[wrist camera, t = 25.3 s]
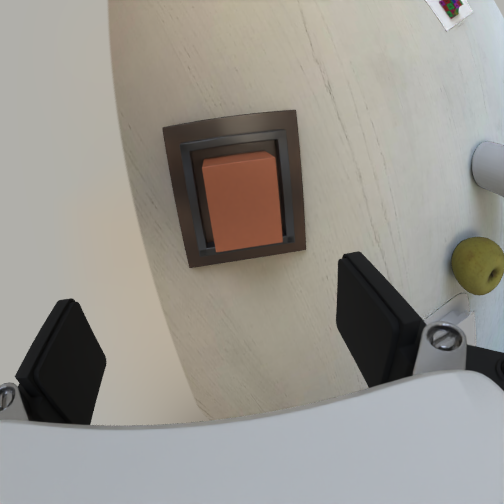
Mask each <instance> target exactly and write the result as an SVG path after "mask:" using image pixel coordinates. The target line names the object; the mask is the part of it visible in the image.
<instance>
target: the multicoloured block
mask: <svg viewBox="0 0 504 504" xmlns="http://www.w3.org/2000/svg"><path fill="white" fill-rule="evenodd" d="M425 1H426V2H427V3H428V5H429V6H430V7H431V9H432V10H433V12H434V13H435V14H436V16H437V17H438V19H439V20H440V22H441V23H442V25H443V26H444V28H445V29H446V31H448V30H449V29H451V28H452V27H453V26H455V25H456V24H457V23H459V22H460V21H461V20H463V19H464V18H466V17H467V16H468V15H470V14H471V13H473V10H472V9H471V7H470V6H469V4H468V3H467V1H466V0H425Z"/></svg>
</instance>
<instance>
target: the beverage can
mask: <svg viewBox="0 0 504 504" xmlns="http://www.w3.org/2000/svg"><path fill="white" fill-rule="evenodd" d="M472 171H473V176H474V179H475V181H476V183H477V184H478V185H479V186H480V187H482V188H484V189H487V190H489V191H491V192H494V193H496V194H498V195H500V196H503V197H504V145H501V144H498V143H494V142H490V141H485V142H482V143H481V144H480V145H479V146H478V147H477V149H476V151H475V152H474V154H473V158H472Z"/></svg>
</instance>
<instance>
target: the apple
mask: <svg viewBox="0 0 504 504" xmlns="http://www.w3.org/2000/svg"><path fill="white" fill-rule="evenodd" d="M451 263H452V269H453V272H454V275H455V277H456V279H457V281H458V282H459V284H460V285H461V286H462V287H463V288H464V289H465V290H467V291H468V292H470V293H472V294H474V295H484V294H487V293H489V292H491V291H492V290H493V289H494V288H495V287H496V286H497V285H498V284H499V282H500V280H501V278H502V276H503V273H504V253H503V251H502V249H501V248H500V247H499V245H497V244H496V243H495V242H494V241H492V240H490V239H488V238H483V237H472V238H468V239H466V240H463V241H462V242H460V243H459V244H458V245H457V247H456V248H455V250H454V252H453V255H452V261H451Z"/></svg>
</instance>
